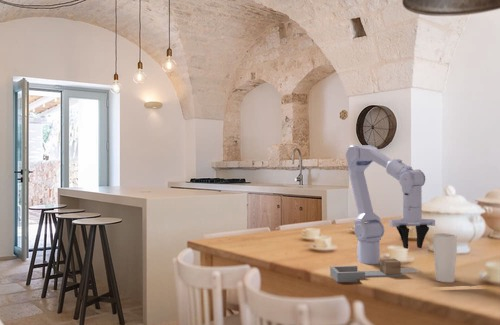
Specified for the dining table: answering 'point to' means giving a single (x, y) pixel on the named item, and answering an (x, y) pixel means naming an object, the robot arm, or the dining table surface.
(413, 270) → the plate
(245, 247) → the dining table surface
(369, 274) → the grey square pan
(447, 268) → the drinking glass
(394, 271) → the block
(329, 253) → the dining table surface
